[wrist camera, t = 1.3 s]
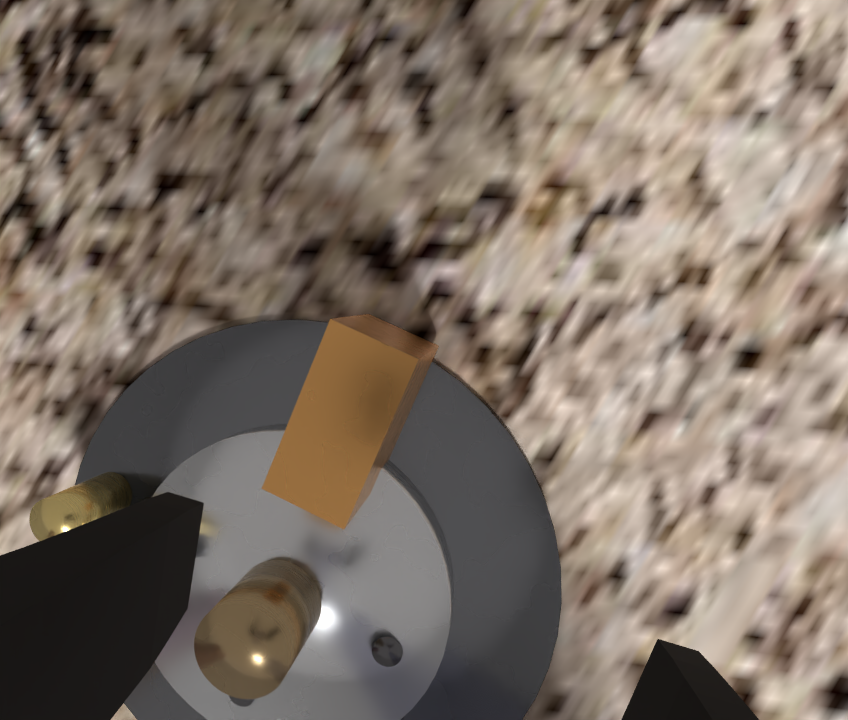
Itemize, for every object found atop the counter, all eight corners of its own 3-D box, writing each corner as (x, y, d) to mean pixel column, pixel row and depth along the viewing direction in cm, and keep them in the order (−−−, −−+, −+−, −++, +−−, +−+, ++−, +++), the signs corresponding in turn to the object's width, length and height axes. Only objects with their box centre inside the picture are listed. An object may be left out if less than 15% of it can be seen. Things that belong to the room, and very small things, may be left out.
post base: (658, 461, 18) (705, 515, 14) (429, 895, 21) (406, 1054, 17) (162, 235, 20) (62, 217, 15) (14, 665, 23) (-107, 754, 18)
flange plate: (562, 401, 18) (575, 431, 14) (377, 780, 21) (345, 894, 17) (253, 261, 19) (186, 252, 15) (112, 637, 22) (23, 713, 18)
